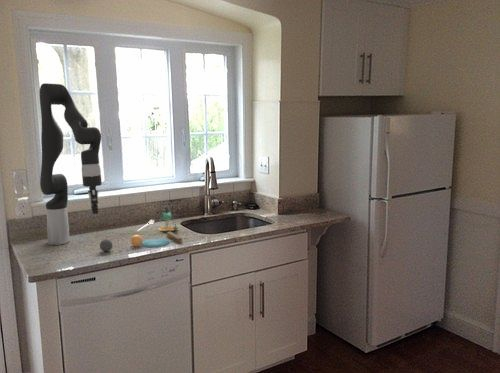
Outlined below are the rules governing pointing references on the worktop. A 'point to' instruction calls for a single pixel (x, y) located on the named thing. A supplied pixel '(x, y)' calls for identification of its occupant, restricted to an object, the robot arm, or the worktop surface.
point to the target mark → (155, 243)
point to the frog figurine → (167, 217)
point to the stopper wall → (174, 237)
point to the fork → (146, 225)
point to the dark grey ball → (106, 245)
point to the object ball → (136, 240)
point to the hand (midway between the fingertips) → (94, 212)
